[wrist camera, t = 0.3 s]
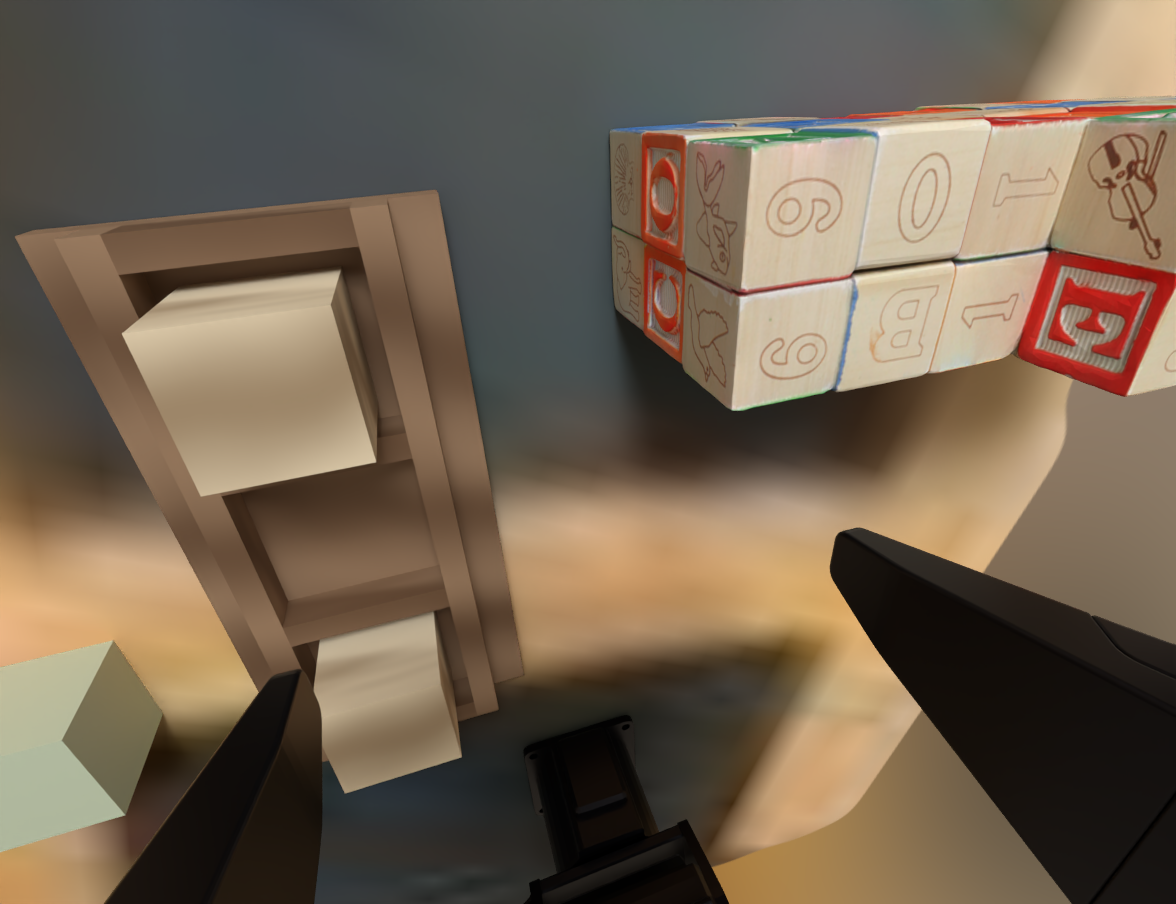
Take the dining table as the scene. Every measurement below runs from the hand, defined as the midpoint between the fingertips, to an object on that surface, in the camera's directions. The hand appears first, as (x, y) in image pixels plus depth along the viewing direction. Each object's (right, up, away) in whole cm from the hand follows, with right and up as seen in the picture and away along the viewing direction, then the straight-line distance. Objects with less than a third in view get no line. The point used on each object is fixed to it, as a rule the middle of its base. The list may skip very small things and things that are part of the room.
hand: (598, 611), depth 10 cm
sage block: (-21, -7, +14) cm, 26 cm away
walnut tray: (-10, 0, +13) cm, 17 cm away
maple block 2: (-9, -6, +16) cm, 19 cm away
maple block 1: (-10, +6, +9) cm, 15 cm away
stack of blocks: (+11, +13, +14) cm, 22 cm away
